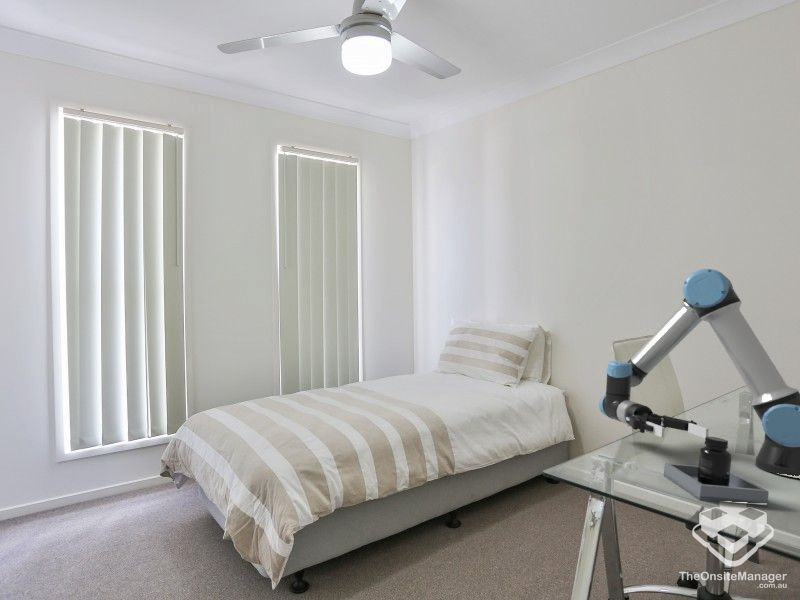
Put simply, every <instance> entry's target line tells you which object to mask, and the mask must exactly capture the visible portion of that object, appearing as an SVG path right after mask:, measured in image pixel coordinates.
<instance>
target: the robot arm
mask: <svg viewBox="0 0 800 600" xmlns="http://www.w3.org/2000/svg"><path fill="white" fill-rule="evenodd" d="M682 294H683V296H684V298H683V299H682V300H681V301H682V302H681V306H680V307H679V308H678V309H677V311H675V312H674V313H673V315H672V316H671V317H669V319H668V320H667V321H666V322H664V324H663V325H662V326H660V328H658V329H657V331H656V332H655V333H654V334H653V335H652V336H650V338H649V339H648V340H647V341H646V342H645V343H644V345H642V347H640V349H639V350H637V351H636V353H634V355H632V356H631V357H630V359H629V360H628V361H618V360H615V361H614V360H612V361H609V362H608V363H607V369H606V387H605V390H606V391H605V395H603V396H602V397H600V398H601V399H600V401H598V408H599V411H600V412H601V413H602V414H603V415H604V416H606V417H608V418H610V419H612V420H614V421H618V422H620V423H623V424H626V425H627V427H631V428H632V429H633V430H635V431H637V430H639V433H641V434H645V432H647V433H650V434H652V435H654V436H657V437H659V438H665V429H666V428H668V429H675V430H680V431H685V432H688V433H689V434H692V435H695V436H697V437H700V438H703V439H705V437H707V436H709V428H707V427H704V426H701V425H699V424H698V423H697V422H695V421H694V420H693V419H691V420H685V419H680V418H676V417H671V416H668V415H660V414H657V413H654V412H653V411H652V409H651V408H650V407H649V406H647V405H644V404H640V403H638V402H636V401H632V400H631V389H632V388H634V387H637V386H639V385H640V384H641V383H642V382H643V381H644V379H645V378H646V377H647V376H648V374H649V373H651V371H653V370H654V368H655V367H657V366H658V365H659V364H660V363H661V362H662V361H663V360H664V359H665V358H666V357H667V356H668V355H669V354H670V353H671V352H672V351H673V350H674V349H676V347H677V346H678V345H679V344H680V343H682V341H683V340H684V339H685V338H686V337H687V336H688V335H689V334H690V333H691V332H692V331H693V330H694V329H695V328H696V327H697V326H698V325H699V324H700V323H701V322H703V321H704V322H706V323H708V324H709V325H710V326H711V328H712V330H713V332H714V333H715V336H716V337H717V338H718V341H719V342H720V344H721V345H722V347H723V348H724V351H725V352H726V353H727V355H728V356H729V358H730V360H731V362H732V364H733V365H734V367H735V369H736V370H737V371H738V374H739V375H740V377H741V379H742V380H743V381H744V383H745V385H746V386H747V388H748V390H749V391H750V393H751V395H752V396H753V399H752V402H751V407H752V408H753V410H754V411H755V413H756V415H757V416H758V418H759V420H760V421H761V426H762V430H763V431H764V439H763V443H762V444H761V446H760V449H759V451H758V453H757V455H756V456H755V461H754V463H755V464H754V465H755V466H756V467H757V468H758V469H761V470H763V471H765V470H767V471H766V472H768V471H771V472H774V473H779V474H787V475H792V476H794V475H795V476H799V475H800V392H799V389H797V388H793V387H790V386H789V385H788V384H787V383H786V381H785V380H784V378H783V376H782V375H781V374H780V372H779V369H777V367H776V365H775V364H774V362H773V360H772V359H771V357H770V356H769V353H767V351H766V349H765V348H764V346H763V344H762V343H761V341H759V339H758V337H757V335H756V334H755V333H754V331H753V329H752V328H751V326H750V325H749V323H748V321H747V320H746V318H745V316H744V315H743V313H742V311H741V309H740V308H741V305H742V303H743V302H742V300H741V299H740V298H739V296H738V294H737V292H736V291H735V290H734V287H733V284H732V282H731V280H730V279H729V278H728V277H727V276H726V275H724V273H722V272H720V271H718V269H717V270H716V269H714V268H703V269H698V270H696V271H694V272H692V273H690V274H689V275H688V276H687V277H686V278H685V280H684V282H683V284H682ZM774 473H773V474H774Z"/></svg>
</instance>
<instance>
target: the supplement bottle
mask: <svg viewBox="0 0 800 600" xmlns="http://www.w3.org/2000/svg"><path fill="white" fill-rule="evenodd" d="M704 440H705V441H704V445H705V446H702V447H700V449H699V452H698V453H699V455H698V465H697V466H698V477H697V481H698V482H700V483H701V484H706V485H717V486H729V481H730V471H731V469H732V468H731V467H732V453H730V452H729V451H728V450H727V449H728V448H729V447H728V445H729V443H728V442H729V441H728V440H727V439H724V438H721V437H717V436H709V435H708V436H707V437H705V438H704Z"/></svg>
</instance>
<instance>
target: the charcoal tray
mask: <svg viewBox="0 0 800 600" xmlns="http://www.w3.org/2000/svg"><path fill="white" fill-rule="evenodd" d="M663 467H664V468H663V476H664V478H666V477H667V478H666V479H668V480H669V481H671V482H672V483H673V484H675V485H677V486H678V485H679V486H678V487H680V488H681V489H683V490H684V491H686V492H687V493H689V494H690V495H691V496H693V497H694V498H695V499H698V500H699V501H706V502H715V503H717V502H716V501H732V502H748V503H769V490H767V489H765V488H763V487H762V486H759V485H757V484H755V483H754V482H751V481H750V480H747V478H744V477H742V476H740V475H738V474H736V473H734V472H732V471H731V470H730V481H729V486H717V485H706V484H701V483H700V482H698V481H697V477H698V465H691V464H681V463H668V462H664V466H663Z"/></svg>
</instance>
